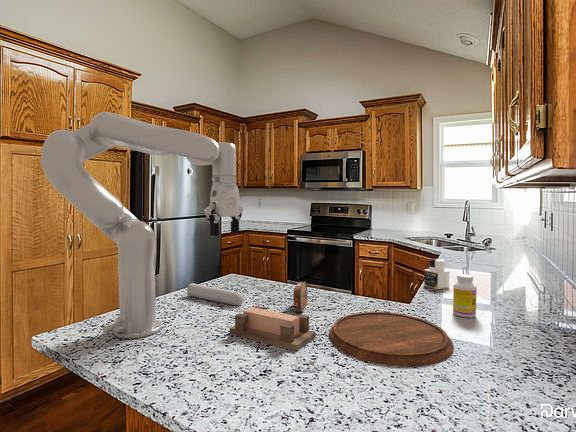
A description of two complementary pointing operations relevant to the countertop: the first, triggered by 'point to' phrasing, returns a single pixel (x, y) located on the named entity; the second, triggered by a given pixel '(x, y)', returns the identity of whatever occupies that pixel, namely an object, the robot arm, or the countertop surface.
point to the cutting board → (391, 339)
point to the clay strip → (270, 320)
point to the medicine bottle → (436, 274)
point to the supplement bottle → (464, 296)
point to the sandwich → (300, 296)
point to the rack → (282, 340)
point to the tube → (215, 294)
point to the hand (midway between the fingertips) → (225, 234)
